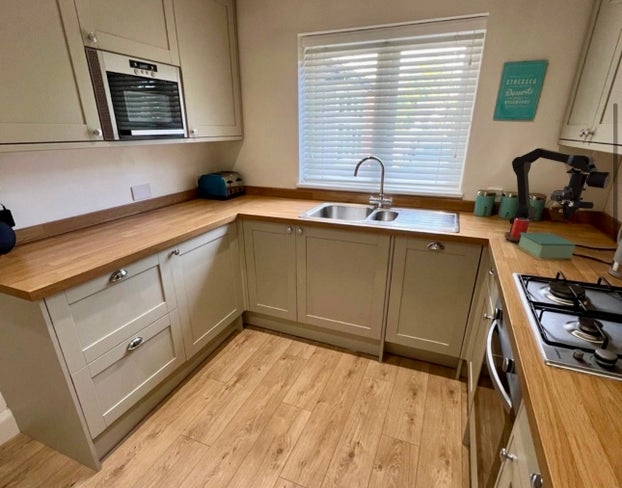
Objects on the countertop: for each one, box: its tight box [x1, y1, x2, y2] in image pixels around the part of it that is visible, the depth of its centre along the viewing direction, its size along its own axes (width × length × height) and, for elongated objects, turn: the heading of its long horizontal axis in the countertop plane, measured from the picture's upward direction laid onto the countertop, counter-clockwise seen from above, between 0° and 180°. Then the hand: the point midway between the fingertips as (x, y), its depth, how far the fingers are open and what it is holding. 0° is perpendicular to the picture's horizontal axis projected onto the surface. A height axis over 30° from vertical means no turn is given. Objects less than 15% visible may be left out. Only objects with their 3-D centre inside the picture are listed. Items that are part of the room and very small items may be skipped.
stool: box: [503, 232, 521, 245], centre depth 158 cm, size 9×9×4 cm
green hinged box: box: [518, 235, 576, 259], centre depth 144 cm, size 14×15×6 cm
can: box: [511, 218, 531, 238], centre depth 155 cm, size 6×6×8 cm
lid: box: [520, 232, 576, 247], centre depth 143 cm, size 14×15×1 cm
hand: (565, 219), depth 150 cm, fingers closed
